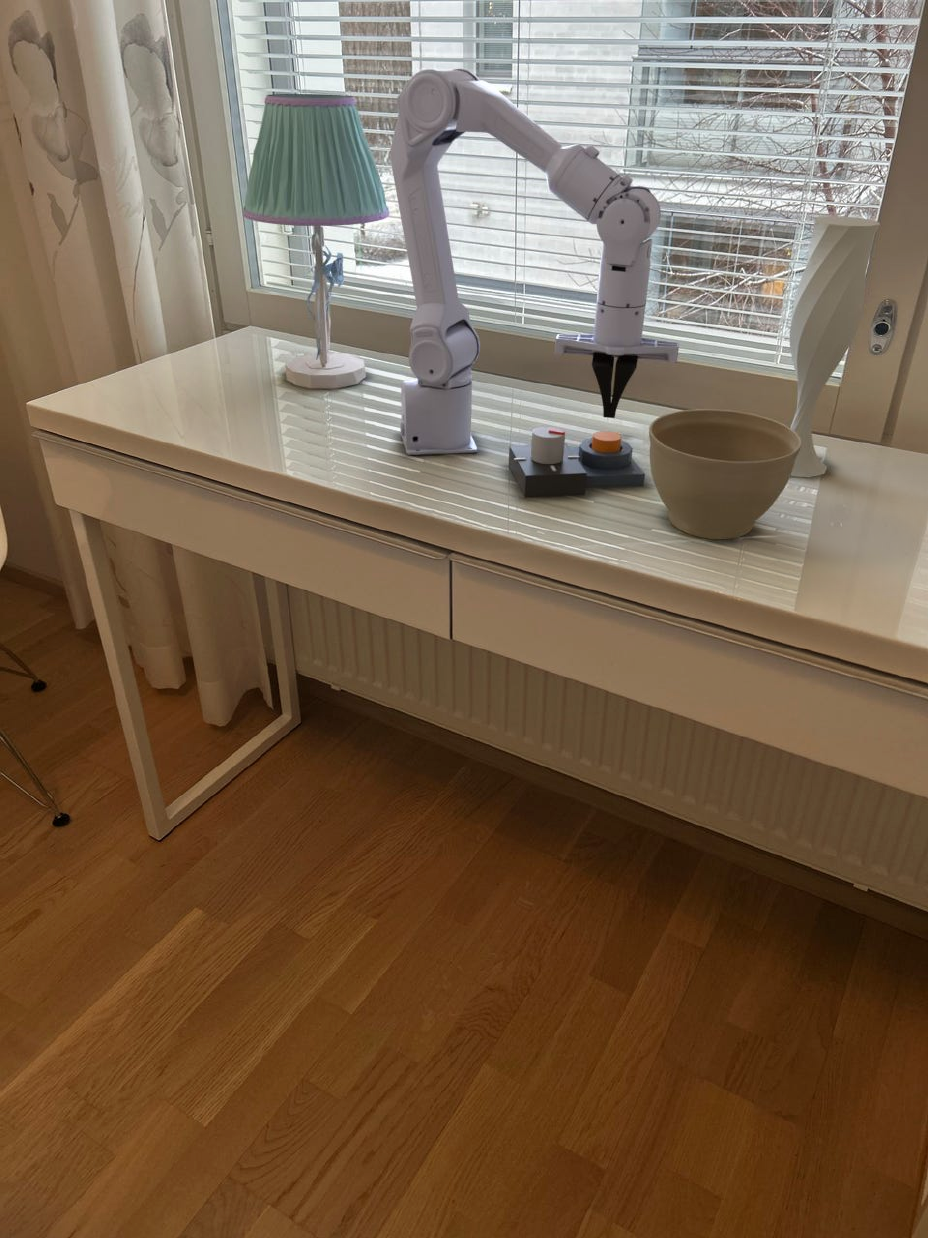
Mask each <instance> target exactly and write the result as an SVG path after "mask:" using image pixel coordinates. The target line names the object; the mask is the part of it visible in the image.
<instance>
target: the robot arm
mask: <svg viewBox="0 0 928 1238" xmlns="http://www.w3.org/2000/svg"><path fill="white" fill-rule="evenodd" d="M396 104H397V111H398V115H397V119H396V123H395V128H394V132H393V137H392V140H391V145H390V150H389V156H390V157H389V159H390V165H391V169H392V176H393V182H394V188H395V192H396V198H397V203H398V209H399V214H400V220H401V227H402V231H403V237H404V242H405V243H404V244H405V249H406V254H407V260H408V266H409V271H410V276H411V282H412V288H413V293H414V298H415V304H416V309H415V313H414V315H413V318H412V321H411V323H410V326H409V332H410V339H411V343H410V348H409V351H408V364H409V368H410V370H411V372H412V374H413V376H415V377H416V378H413V379H410V380H403V381H401V388H400V390H401V391H400V393H401V394H400V396H401V397H400V398H401V400H400V401H401V403H400V404H401V406H400V407H401V422H400V436H401V438H402V442H403V445H404V449H405V453H406V455H408V456H414V455H415V456H418V455H420V456H421V455H442V454H443V455H445V454H447V455H449V454H471V453H477V452H478V447H477V445H476V442H475V440H474V439H473V436H472V407H473V406H472V404H473V403H472V401H473V396H472V395H473V373H472V366H473V364H474V363H475V362H476V361H477V360H478V358H479V356H480V353H481V341H480V337H479V335H478V333H477V331H476V330H475V328H474V326H473V324H472V322H471V318H470V312H469V310H468V309H467V307H466V306H465V305H464V304H463V303H462V301H461V300H460V298H459V293H458V288H457V287H458V286H457V281H456V275H455V274H456V273H455V269H454V262H453V257H452V256H453V255H452V250H451V244H450V243H451V242H450V237H449V231H448V224H447V219H446V212H445V205H444V200H443V199H444V198H443V193H442V192H443V191H442V187H441V181H440V173H439V168H438V167H439V166H438V165H439V162H440V161H441V159H442V158H443V157H444V155H445V154H446V153H447V151H448V150H449V148H450V147H451V146H452V145H453V143H454V141H455V140H457V139H458V138H459V137H460V136H462V135H463V134H465V133H484V134H489V135H490V136H492V137H493V138H495V139H496V140H497V141H499V142H500V143H502V144H503V145H504V146H506V147H507V148H509V149H510V150H512V151H513V152H515V153H516V154H518V155H519V156H520V157H522V158H523V159H524V160H526V161H528V162H529V163H530V164H531V165H533V166H535V167H536V168H537V169H539V170H540V171H542V172H543V173H544V174H545V178H546V184H547V188H548V191H549V192H550V193H551V194H553V195H554V196H555V197H556V198H557V199H559V200H560V201H562V202H563V203H564V204H566V205H567V207H569V208H570V209H572V210H573V211H574V212H576V213H577V214H578V215H579V216H581V217H582V218H584V219H585V220H586V221H587V222H588V223H589V224H591V225H596V231H597V235H598V236H599V238H600V240H601V241H602V245H601V247H602V248H601V258H600V262H599V270H598V280H597V281H598V282H597V293H596V294H597V295H596V303H595V316H594V325H593V326H594V327H593V333H590V334H589V333H587V334H586V333H585V334H562V333H561V334H559V333H558V334H556V337H555V344H554V355H562V356H563V355H564V354H567V355H568V354H571V355H581V356H592V359H591V360H592V361H591V367H592V370H593V373H594V375H595V378H596V381H597V384H598V388H599V392H600V396H601V402H602V410H603V411H602V412H603V413H602V414H603V415H602V416H603V418H607V419H608V418H609V419H615V418H616V414H617V413H616V412H617V408H618V405H619V402H620V400H621V397H622V395H623V393H624V392H625V389H626V387H627V385H628V383H629V381H630V380H631V378H632V376H633V375H634V373H635V371H636V369H637V367H638V360H648V361H649V360H651V361H665V362H667V363H669V364H677V363H678V356H679V349H680V343H679V342H676V341H675V342H674V341H673V342H672V341H666V340H658V339H652V338H647V337H643V330H644V322H645V314H646V306H647V305H646V304H647V298H648V297H647V296H648V289H649V281H650V280H649V279H650V272H651V265H652V263H651V254H652V246H653V238H651V236H653V234H655V232H656V231H657V229H658V227H659V225H660V222H661V217H662V211H661V206H660V202H659V200H658V199H657V197H656V196H655V195H654V194H653V193H652V191H651V190H650V189H649V187H646V186H643V185H633V186H632V183H633V180H634V179H633V178H632V177H631V176H629V175H628V174H624V175H623V176H622V175H621V174H619V173H618V172H617V171H616V170H614V169H613V168H612V167H610V166H609V165H608V164H606V163H605V162H604V161H602V160H601V159H600V158H598V156H599V155H600V151H599V149H597V148H595V146H593V145H589V146H586V148H585V147H584V146H583V145H582V144H579V143H576V144H572V145H568V146H564V145H562V144H561V143H560V142H559V141H558V140H556V139H555V138H554V137H553V136H552V135H550V134H549V133H548V132H547V131H546V130H545V129H544V128H542V127H541V126H540V125H538V124H537V122H535V121H534V120H533V119H531V118H530V117H529V116H528V115H527V114H526V113H525V112H524V111H522V110H521V109H520V108H519V107H518V106H516V105H515V104H514V103H513V102H512V101H511V100H510V99H508V98H507V97H506V96H505V95H504V94H503V93H501V92H500V91H499V90H498V89H497V88H496V87H495V86H494V85H493V84H491V83H489V82H487V81H485V80H483V79H480V78H479V77H478V76H477V75H476V74H475V73H473V72H472V71H470V70H469V69H464V68H454V69H449V70H436V69H434V68H433V69H431V68H429V69H428V68H427V69H421V70H419V71H418V72H416V73H415V74H413V76H411V77H410V79H409V80H408V82H407V83H406V84H405V86H404V87H403V89H402V90H401V91H400V93H399V94H398V96H397V97H396ZM615 358H616V361H615ZM614 364H615V365H614ZM614 366H615V367H614ZM613 373H614V379H613ZM612 381H613V383H612ZM612 384H613V389H612Z"/></svg>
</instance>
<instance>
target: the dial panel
mask: <svg viewBox="0 0 928 1238" xmlns="http://www.w3.org/2000/svg"><path fill="white" fill-rule="evenodd" d="M531 446H532V444H510V445H509V447H508V465H507V466H508V469H509V471H510V472H511V475H512V477H513V478H514V481H515V483H516V484H517V487H518V489H519V490H520V492H521V494H522V496H523V498H524V499H531V498H532V499H533V498H553V497H555V498H557V497H576V496H577V497H578V496H585V495H586V488H585V487H586V476H587V473H586V471H585V470H584V468H583V467H582V465H581V464H580V462H579V461H578V460H577V458H579V456H575V455H574V454H573V452H572V451H571V449H570V448H569V447H570V446H569V445H568V443H566V442H565V443H564V455H563V460H562V461H561V462H560V463H556V464H541V463H537V462H535V461H533V460H532V459H531Z"/></svg>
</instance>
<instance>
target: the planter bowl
mask: <svg viewBox="0 0 928 1238" xmlns="http://www.w3.org/2000/svg"><path fill="white" fill-rule="evenodd" d="M648 429H649V431H648V438H649V465H650V466H649V467H650V471H651V477H652V481H653V484H654V486H655V489H656V491H657V493H658V495H659V498H660V499H661V501H662V503H663V504H664V506H665V508H666V509H667V511H668V512H667V515H668V516H667V517H668V520H669V522H670V523H671V525H673V526H674V527H675V528H676V529H678V530H679V531H681V532H683V533H686V534H688V535H691V536H694V537H699V538H703V539H712V540H730V539H736V538H739V537H743V536H745V535H747V534H749V533H750V532H751V531H752V529H753V528H754V526H755V523H756V521H757V520H759V518H761V517H762V516H763V515H765V513H766V512H768V510H769V509H770V508H771V507H772V506H773V505H774V504H775V502H777V500H778V499H779V497H780V496H781V494H782V492H783V491H784V490H785V488H786V486H787V484H788V482H789V479H790V477H791V476H790V475H791V472H792V469H793V466H794V462H795V458H796V457H797V455H798V453H799V451H800V448H801V439H800V437H799V435H798V434H797V433H796V432H795V431H793V430H792V429H791V428H790V427H789V426H788V425H786V424H785V423H781V422H780V421H777V420H775V419H772V418H770V417H766V416H762V415H759V414H754V413H749V412H744V411H738V410H731V409H719V408H717V409H716V408H701V409H699V408H698V409H685V410H677V411H673V412H669V413H666V414H663V415H661V416H659V417H657V418H655V419H654V420H653V421H652V422H651V423H650V426H649V428H648Z"/></svg>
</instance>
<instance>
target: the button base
mask: <svg viewBox="0 0 928 1238" xmlns="http://www.w3.org/2000/svg"><path fill="white" fill-rule="evenodd" d="M592 438H593V437H591V438H587V439H584V440H583V441H581V443H580V444H579V446H569V448H570V449H571V451H572V452H573V454H574V455H575V456H579V458H577V460H578V461H579V462H580V464H581V465H582V467H583V468H584V470H585V471H586V473H587V476H586V487H585V489H606V488H624V487H625V488H627V487H628V488H629V487H644V484H645V477H646V473H645V472H644V471H643V469H642V468H641V467H640V466H639V465H638V464H637V462H636V461H635V460H634V458H633V447H632V445H631V444H630V443H629V442H626V441H624V440H621V446H620V451H619V452H615V453H603V452H597V451H595V450H593V449H592Z"/></svg>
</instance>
